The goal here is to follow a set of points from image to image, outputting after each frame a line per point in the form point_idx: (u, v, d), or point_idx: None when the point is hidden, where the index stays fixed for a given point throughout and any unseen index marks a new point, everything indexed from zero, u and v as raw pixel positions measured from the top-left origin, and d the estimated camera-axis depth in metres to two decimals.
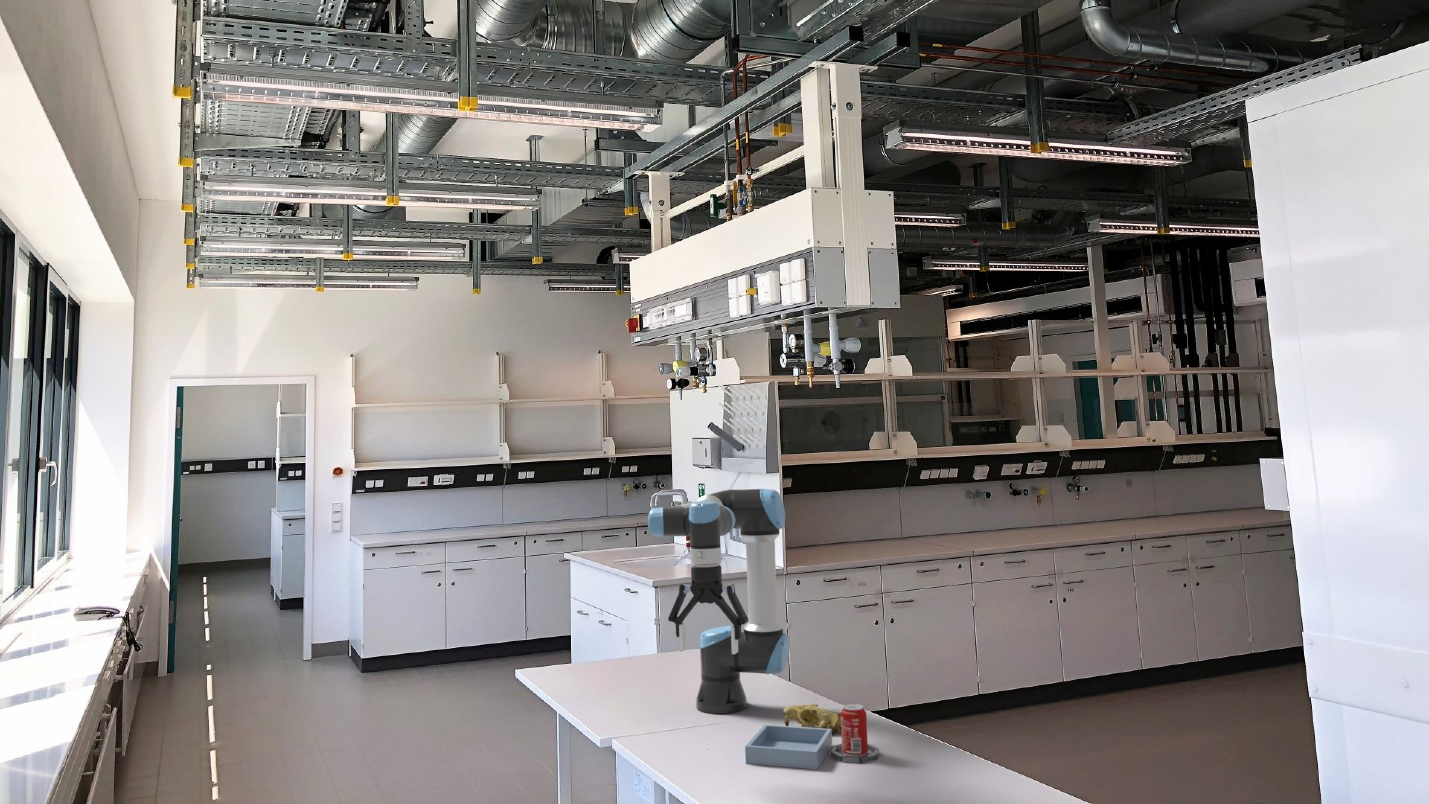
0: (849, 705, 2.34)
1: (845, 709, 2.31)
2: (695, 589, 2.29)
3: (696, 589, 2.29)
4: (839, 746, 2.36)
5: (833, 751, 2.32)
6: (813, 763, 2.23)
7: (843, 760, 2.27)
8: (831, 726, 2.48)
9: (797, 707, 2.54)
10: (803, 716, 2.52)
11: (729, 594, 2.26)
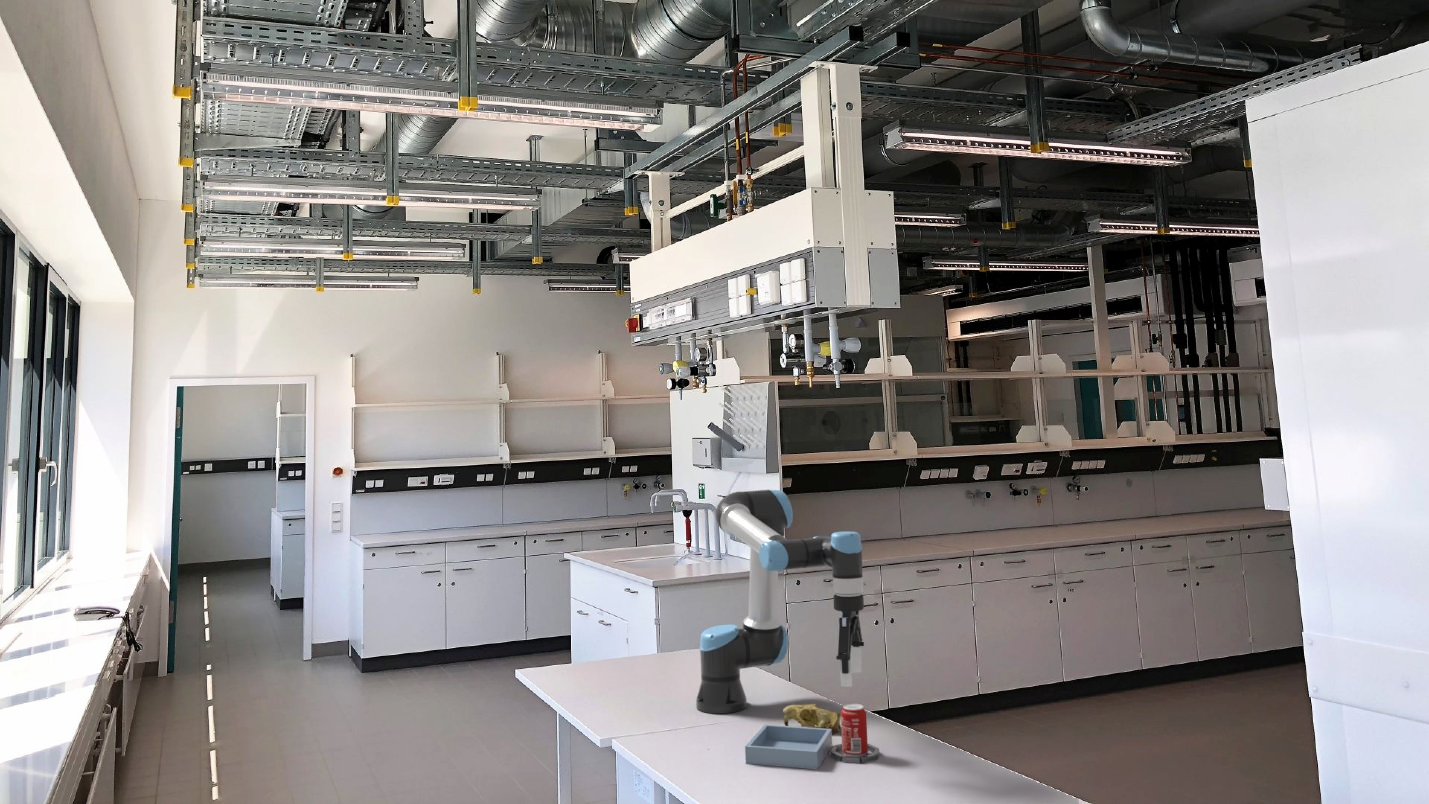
0: (849, 705, 2.34)
1: (845, 709, 2.31)
2: None
3: None
4: (839, 746, 2.36)
5: (833, 751, 2.32)
6: (813, 763, 2.23)
7: (843, 760, 2.27)
8: (830, 726, 2.49)
9: (796, 706, 2.55)
10: (802, 716, 2.53)
11: None
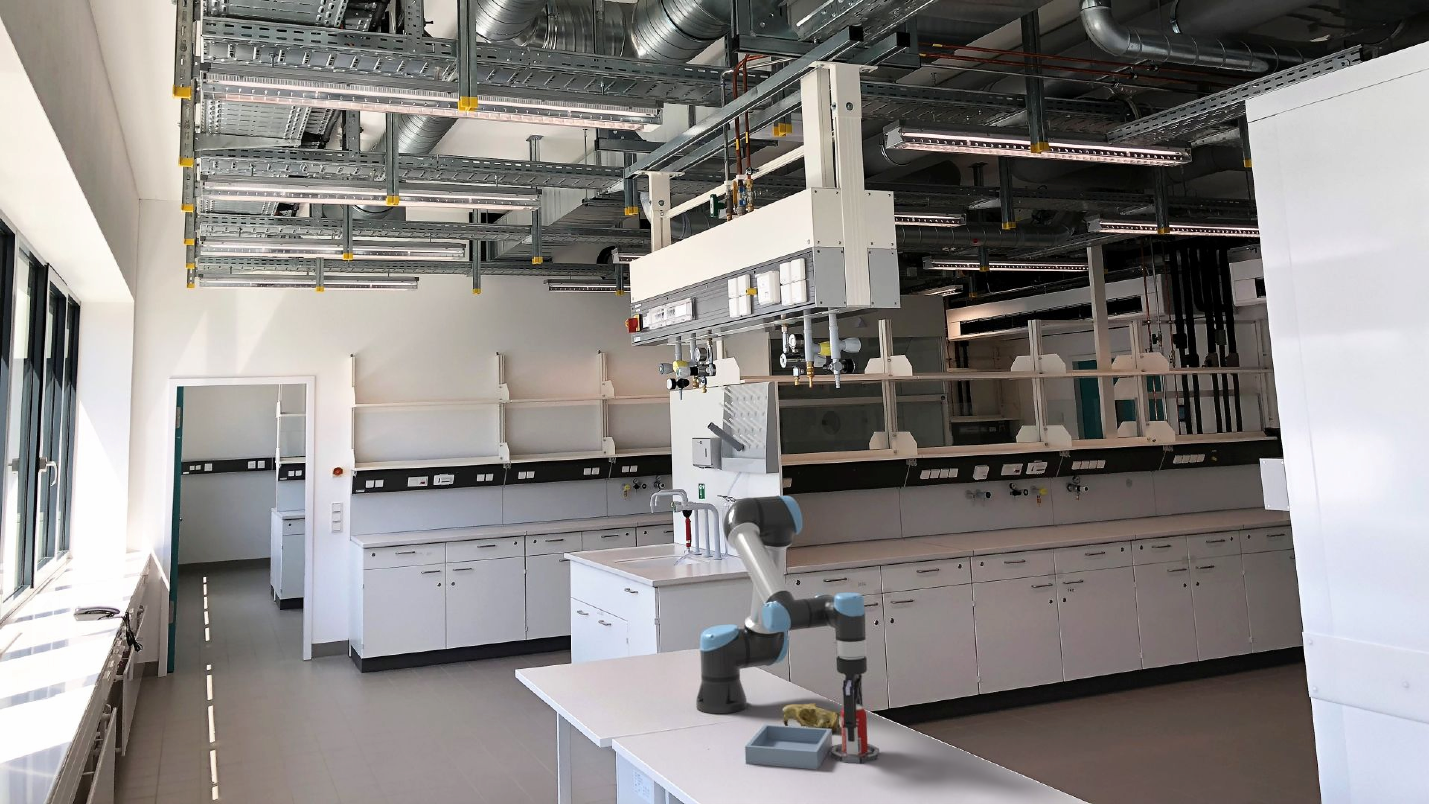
0: None
1: None
2: None
3: None
4: (839, 746, 2.36)
5: (833, 751, 2.32)
6: (813, 763, 2.23)
7: (843, 760, 2.27)
8: (830, 725, 2.49)
9: (796, 706, 2.55)
10: (802, 715, 2.53)
11: None
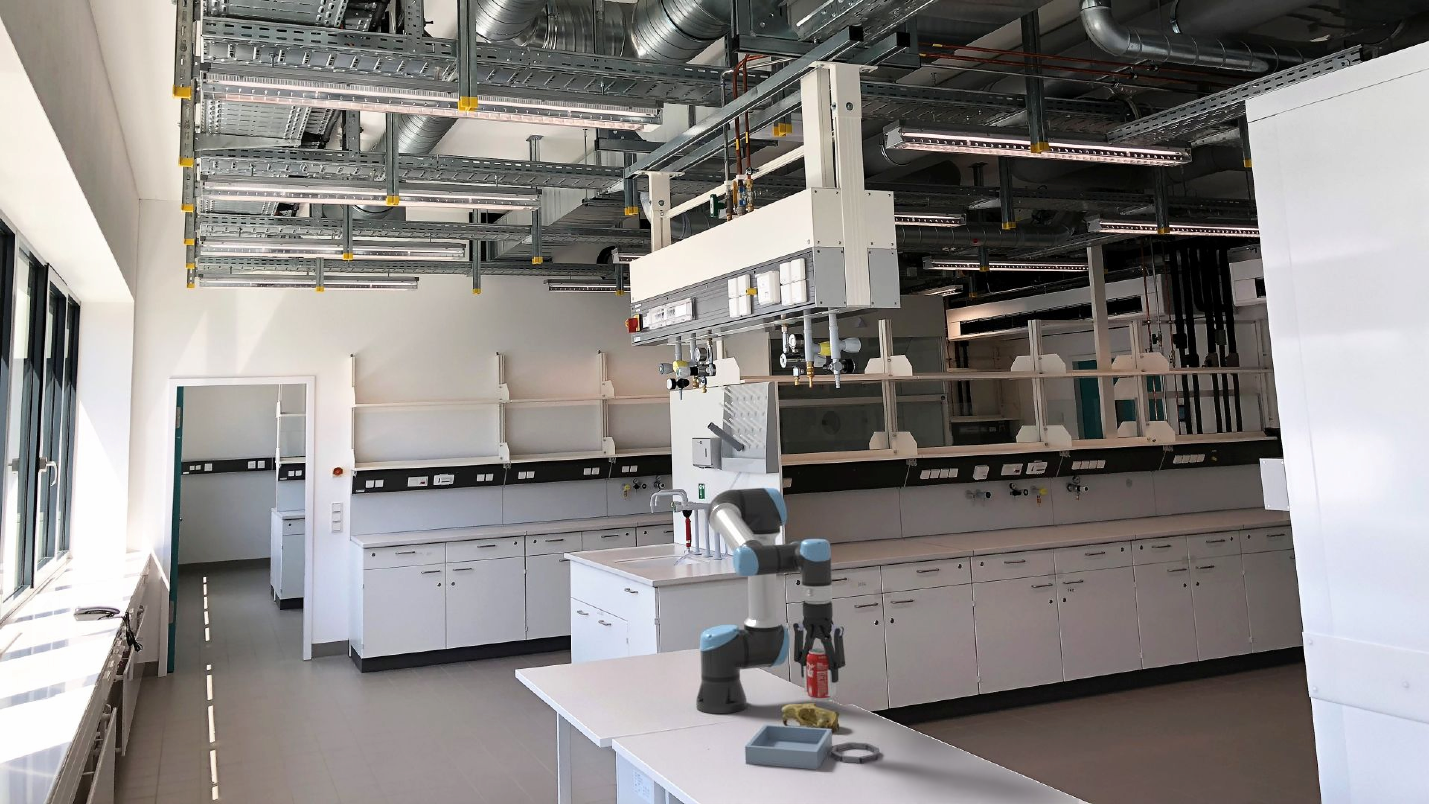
0: (812, 652, 2.34)
1: (822, 654, 2.32)
2: (807, 623, 2.36)
3: (807, 623, 2.35)
4: (839, 746, 2.36)
5: (833, 751, 2.32)
6: (813, 763, 2.23)
7: (843, 760, 2.27)
8: (829, 724, 2.50)
9: (795, 705, 2.56)
10: (801, 715, 2.53)
11: (835, 636, 2.31)
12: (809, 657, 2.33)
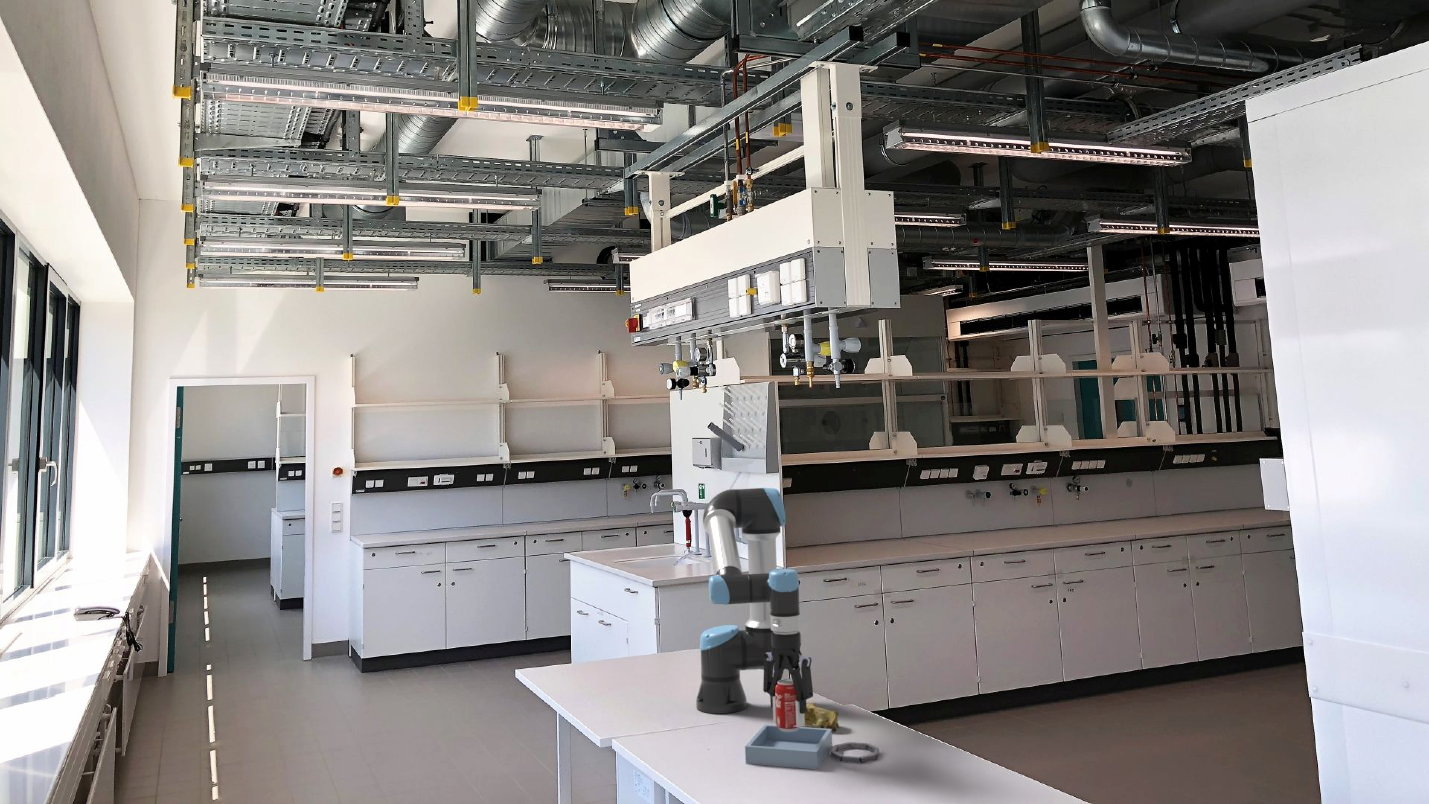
0: (780, 682, 2.35)
1: (789, 685, 2.33)
2: (775, 654, 2.36)
3: (776, 653, 2.36)
4: (839, 746, 2.36)
5: (833, 751, 2.32)
6: (813, 763, 2.23)
7: (843, 760, 2.27)
8: (828, 724, 2.50)
9: None
10: None
11: (802, 667, 2.31)
12: (777, 688, 2.34)
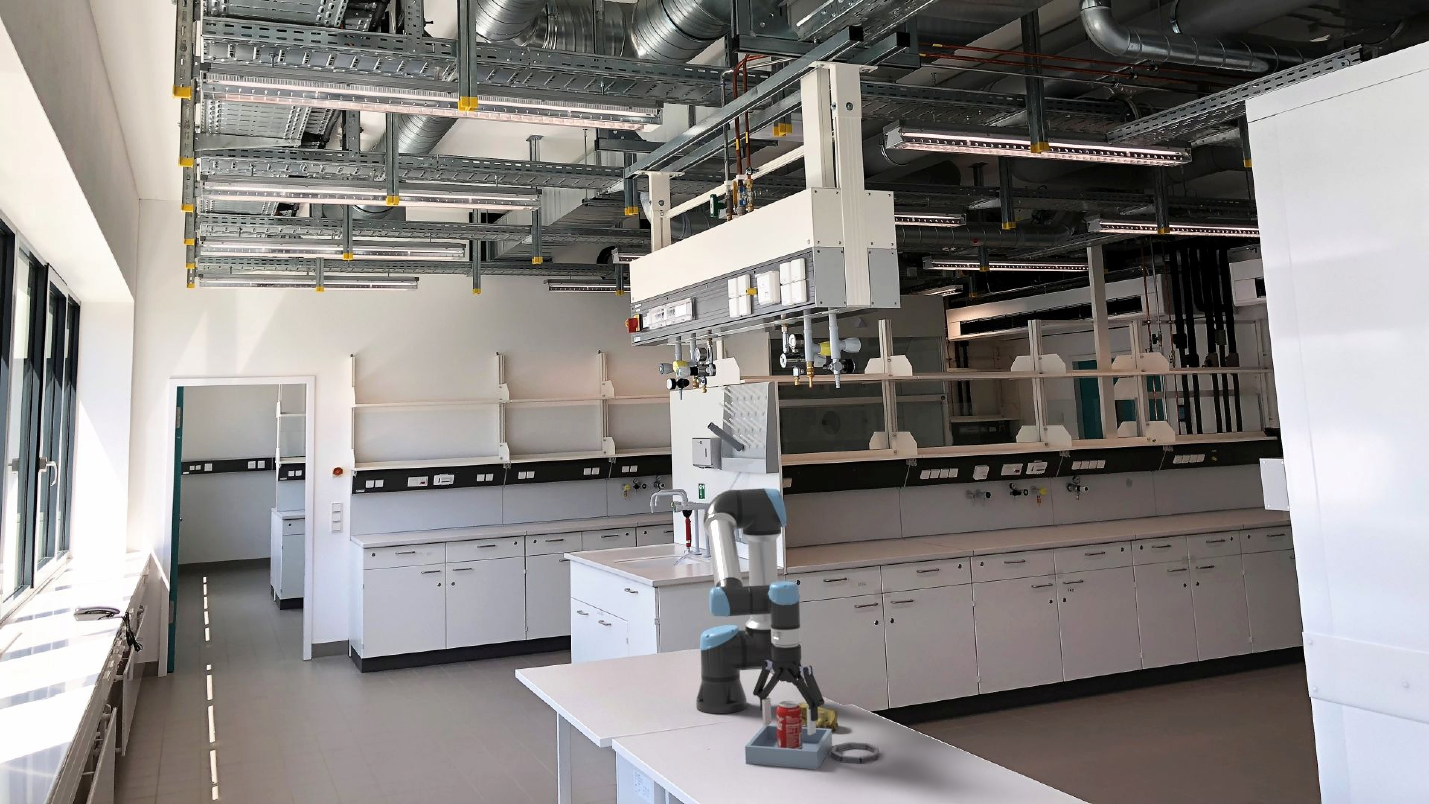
0: (781, 704, 2.35)
1: (791, 707, 2.32)
2: (776, 667, 2.36)
3: (776, 667, 2.36)
4: (839, 746, 2.36)
5: (833, 751, 2.32)
6: (813, 763, 2.23)
7: (843, 760, 2.27)
8: (828, 724, 2.51)
9: None
10: None
11: (805, 676, 2.30)
12: (778, 710, 2.33)
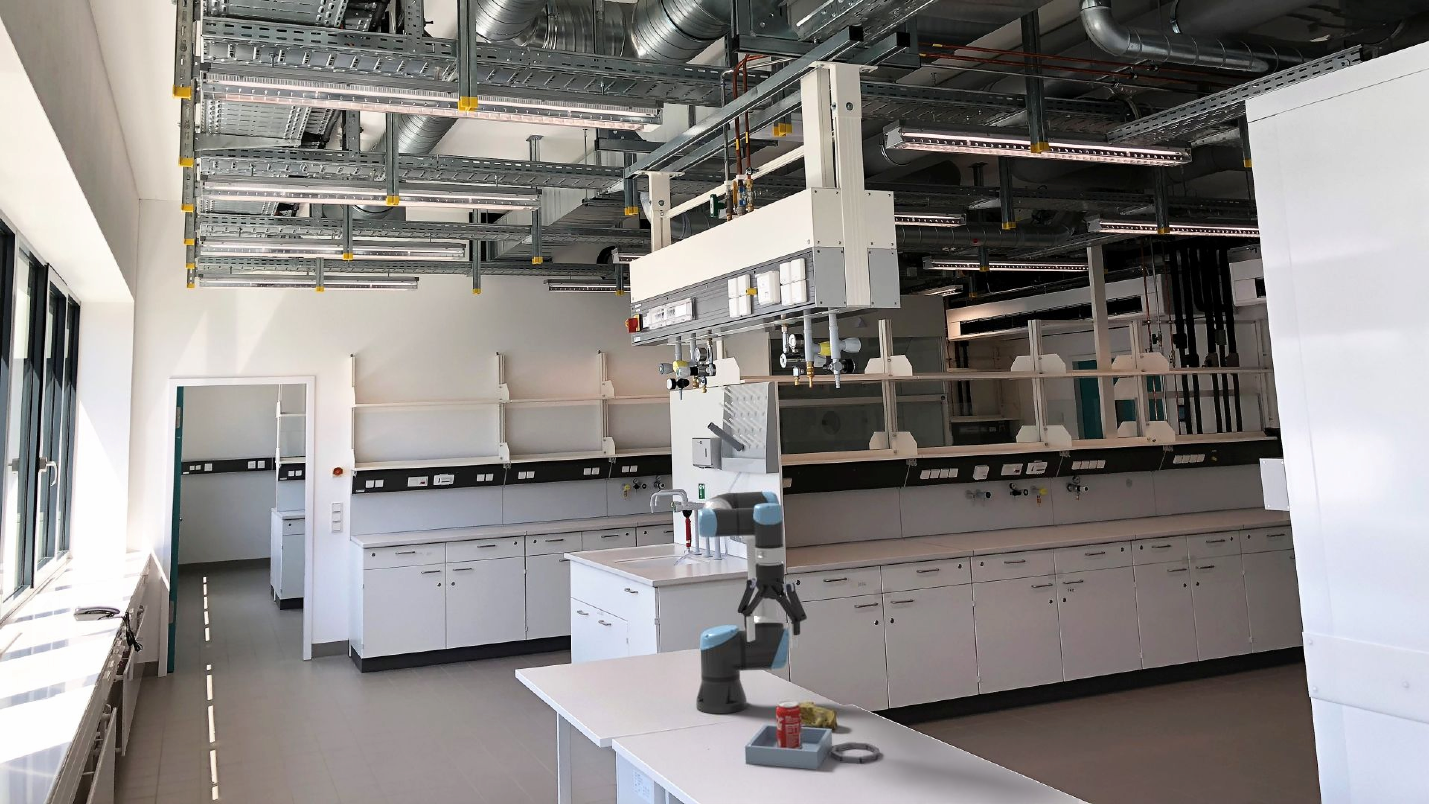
0: (781, 704, 2.35)
1: (790, 707, 2.32)
2: (759, 585, 2.44)
3: (760, 585, 2.44)
4: (839, 746, 2.36)
5: (833, 751, 2.32)
6: (813, 763, 2.23)
7: (843, 760, 2.27)
8: (827, 723, 2.51)
9: None
10: None
11: (788, 592, 2.39)
12: (778, 710, 2.33)
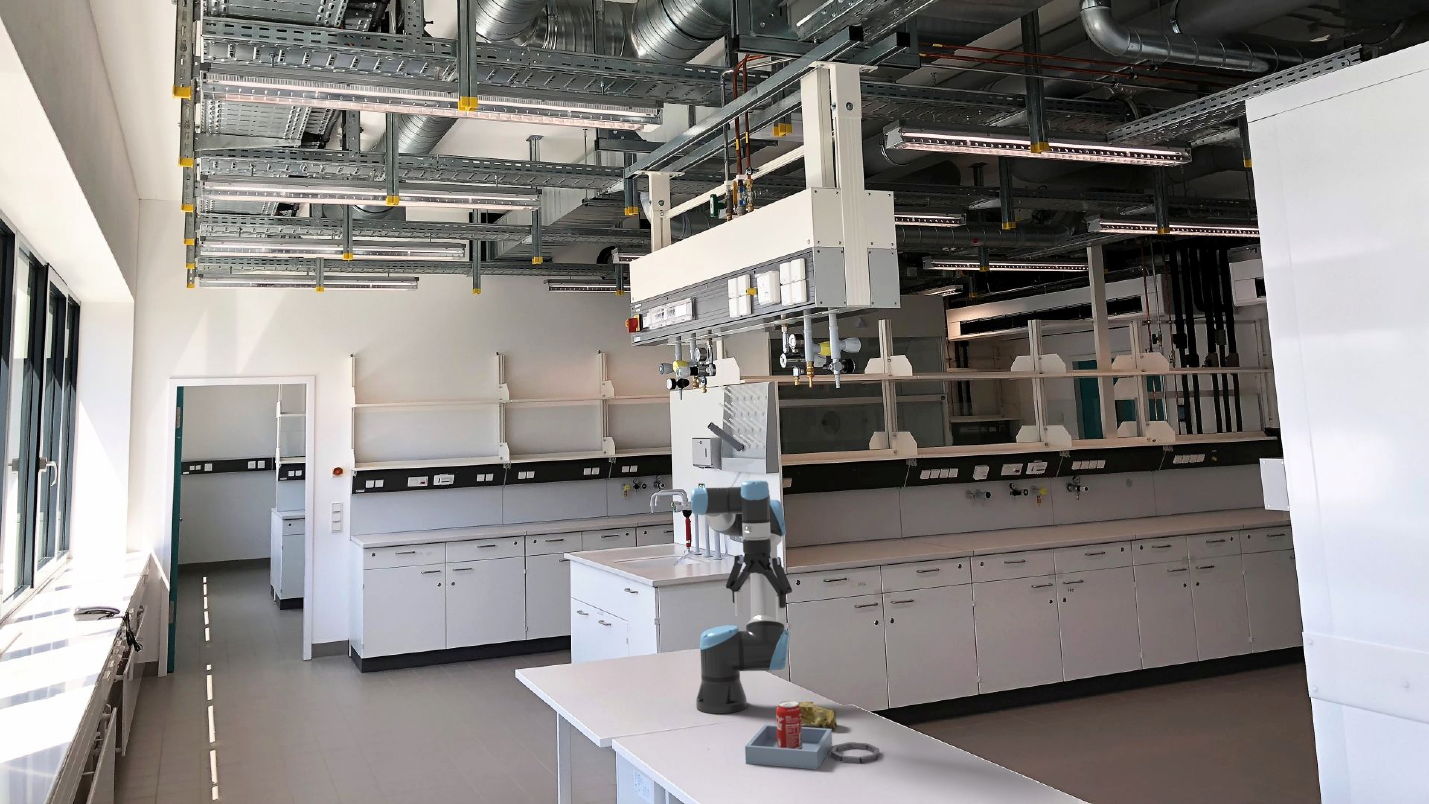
0: (781, 704, 2.35)
1: (790, 707, 2.32)
2: (747, 560, 2.51)
3: (748, 560, 2.51)
4: (839, 746, 2.36)
5: (833, 751, 2.32)
6: (813, 763, 2.23)
7: (843, 760, 2.27)
8: (827, 723, 2.51)
9: None
10: None
11: (774, 566, 2.45)
12: (778, 710, 2.33)
